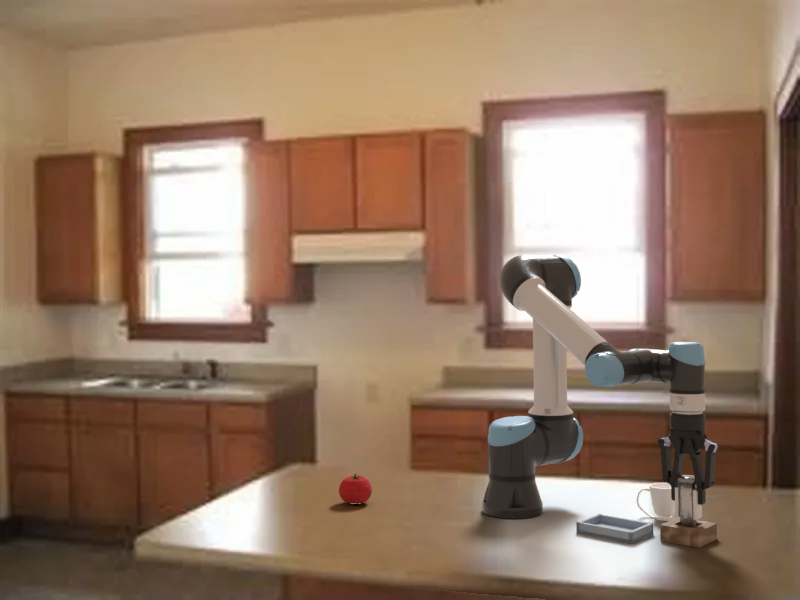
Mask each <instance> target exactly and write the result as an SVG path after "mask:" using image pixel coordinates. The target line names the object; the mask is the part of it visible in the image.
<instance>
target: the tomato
mask: <svg viewBox="0 0 800 600" xmlns="http://www.w3.org/2000/svg"><path fill="white" fill-rule="evenodd" d="M372 492H373V487H372V484H371V482H370V481H369V479H368V478H367V477H366V476H362V475H357V473H354V475H349V476H347V477H345V478H344V479H342V481H341V482H340V484H339V487H338V494H339V497H340V498H341V501H343V502H344V503H346V502H347V503H363V502H365V503H366V502H367V501H368V500H369V499H370V498H371V496H372ZM347 503H346V504H347ZM363 504H364V503H363Z"/></svg>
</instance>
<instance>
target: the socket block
mask: <svg viewBox="0 0 800 600" xmlns="http://www.w3.org/2000/svg"><path fill="white" fill-rule="evenodd" d="M717 525H718V524H717V522H710V521H705V520H700V519H698V520H697V527H695V528H691V527H685V526H680V517H675V518H674V519H673V520H670V521H665V522H663V523H661V524H660V525H659V528H660V529H659V530H660V531H659V532H660V534H659V535H660V541H662V542H666V543H670V544H671V543H672V544H677V545H682V546H687V547H692V546H694V547H693V548H697V547H698V549H700V548H702V547H704V546H705V545H708V544H710V543H712V542H714V541H716V540H717V539H718V526H717Z"/></svg>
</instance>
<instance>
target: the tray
mask: <svg viewBox="0 0 800 600" xmlns="http://www.w3.org/2000/svg"><path fill="white" fill-rule="evenodd" d="M575 525H576V534H577V535H579V534H580V535H583V536H585V535H586V536H588V537H589V536H590V537H595V538H600V539H604V540H609V541H615V542H620V543H624V544H629V545H633V544H635V543H637V542H640V541H641V540H644V539H647V538H649V537H651V536H654V523H653V522H647V521H643V520H636V519H630V518H625V517H620V516H619V517H618V516H614V515H613V516H612V515H608V514H602V513H597V514H595V515H593V516H590V517H587V518H584V519H582V520H578V521H576V524H575Z"/></svg>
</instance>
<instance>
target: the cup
mask: <svg viewBox="0 0 800 600" xmlns="http://www.w3.org/2000/svg"><path fill="white" fill-rule="evenodd" d="M648 486H649V487H644V488H641V489H640V490H639V492H638V493H637V496H636V504H637V507H638V509H639V510H640V511H641V512H642V513H644V514H645V515H647V516H648V517H650V518H652V519H655V520H657V521H660V522H661V521H662V522H668V521H670V520H673V519H675V518H674V517H673V516H675V501H674V500H672V498H671V485H670V484H668V483H665V482H653V483H651V484H648ZM642 491H646V492H649V493H650V499H651V504H652V505H651V506H652V509H653V512H654V514H655V515H652V514H650V513H649V512H648V511H646V510H645V509H644V508H643V507H642V506H641V504H640V502H639V497H640V494H641V492H642Z"/></svg>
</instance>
